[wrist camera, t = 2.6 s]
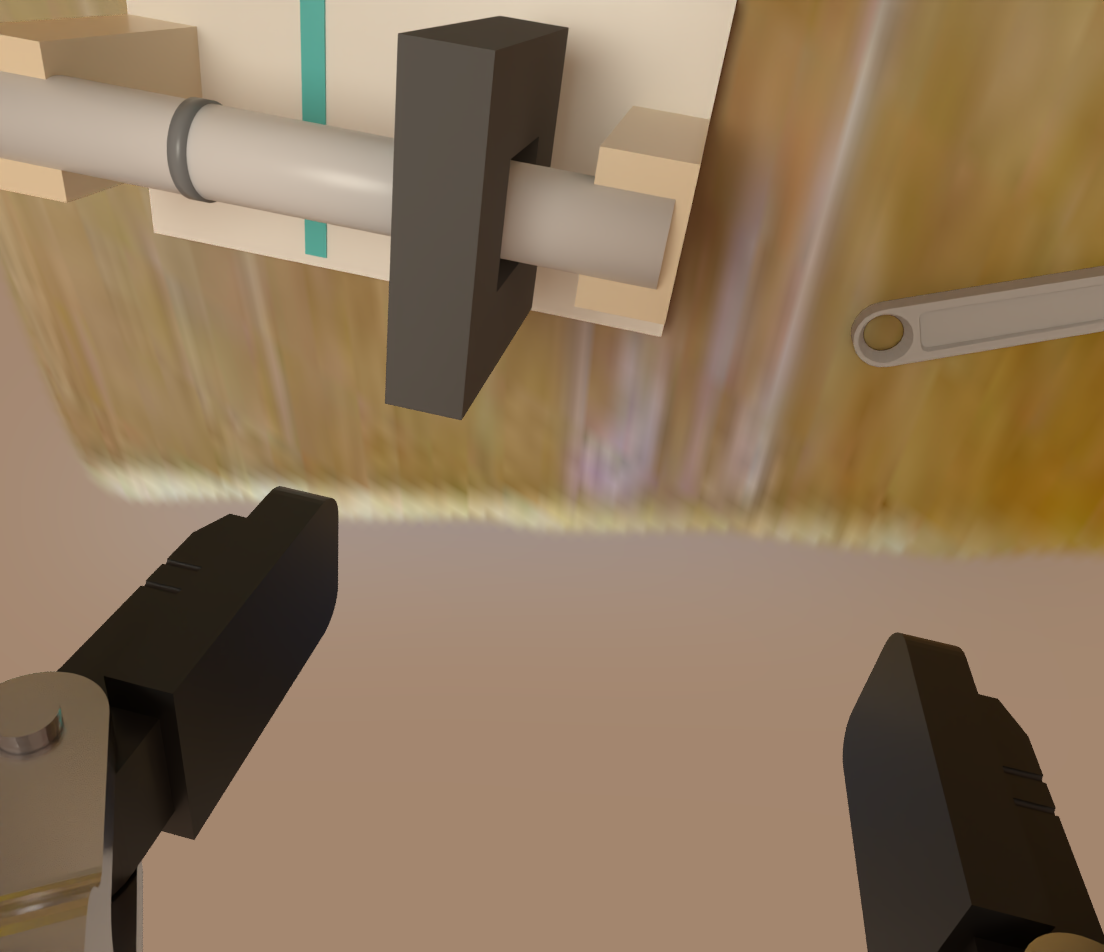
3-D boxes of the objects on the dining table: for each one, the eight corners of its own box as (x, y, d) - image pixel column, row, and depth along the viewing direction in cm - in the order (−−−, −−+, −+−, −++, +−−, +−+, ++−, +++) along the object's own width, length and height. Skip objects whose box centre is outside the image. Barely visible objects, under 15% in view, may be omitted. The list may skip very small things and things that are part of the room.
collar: (568, 27, 28) (495, 50, 20) (531, 307, 33) (461, 420, 25) (500, 15, 28) (398, 33, 20) (474, 295, 34) (385, 403, 25)
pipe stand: (737, -1, 31) (735, 11, 21) (663, 324, 38) (637, 446, 28) (137, -102, 33) (-115, -133, 23) (172, 224, 40) (-11, 305, 30)
